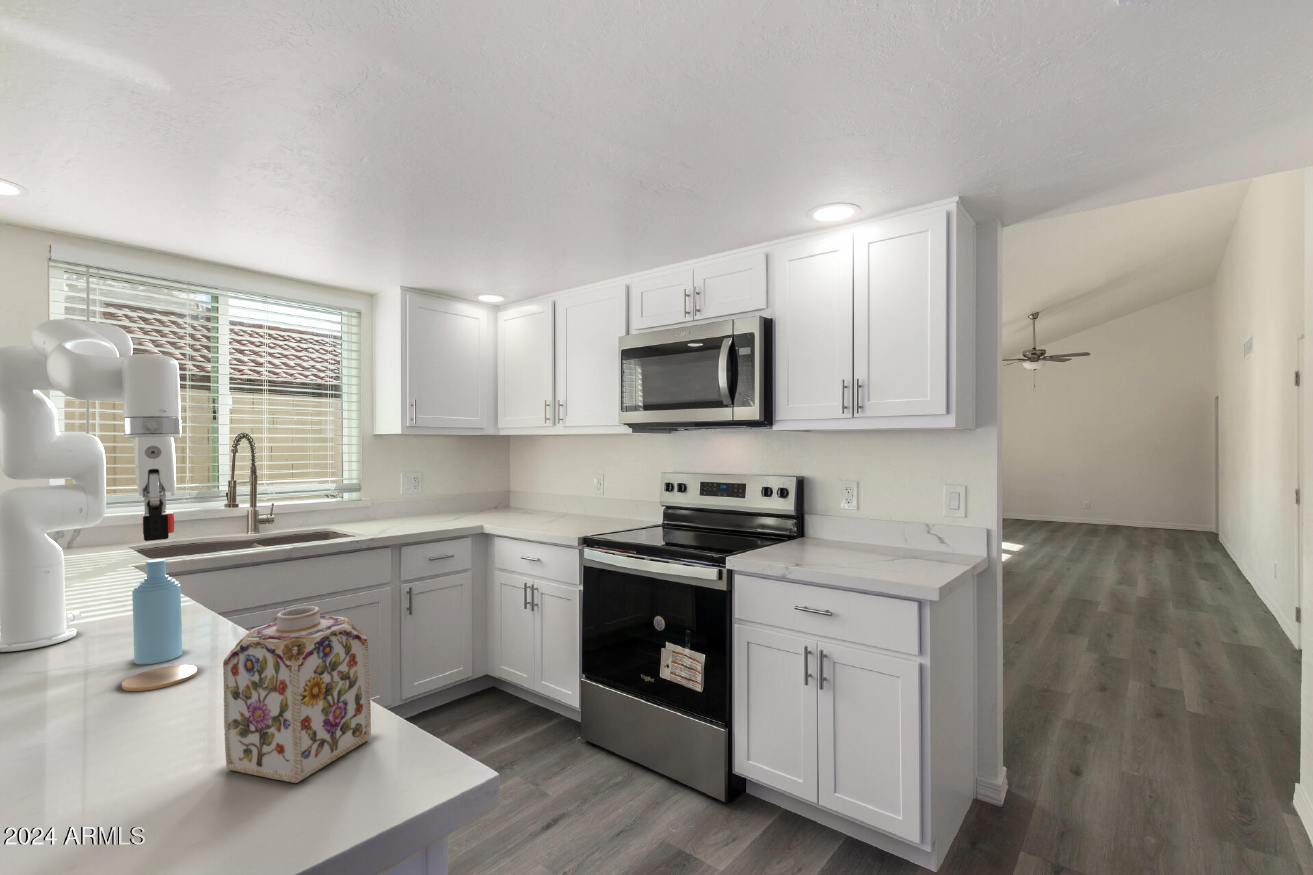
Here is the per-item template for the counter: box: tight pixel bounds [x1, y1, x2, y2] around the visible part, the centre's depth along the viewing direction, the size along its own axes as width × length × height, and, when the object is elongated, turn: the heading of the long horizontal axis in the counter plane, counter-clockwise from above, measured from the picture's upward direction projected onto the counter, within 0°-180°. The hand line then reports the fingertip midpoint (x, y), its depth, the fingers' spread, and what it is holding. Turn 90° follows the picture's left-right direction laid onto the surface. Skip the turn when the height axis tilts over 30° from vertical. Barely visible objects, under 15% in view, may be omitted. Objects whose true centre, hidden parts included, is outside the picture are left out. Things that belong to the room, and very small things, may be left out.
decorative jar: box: [222, 605, 372, 784], centre depth 79 cm, size 12×12×18 cm
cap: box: [142, 511, 175, 536], centre depth 107 cm, size 4×4×3 cm
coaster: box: [121, 664, 198, 692], centre depth 107 cm, size 10×10×1 cm
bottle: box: [131, 558, 183, 666], centre depth 118 cm, size 7×7×18 cm
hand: (156, 537), depth 107 cm, fingers closed on cap, 4 cm apart
